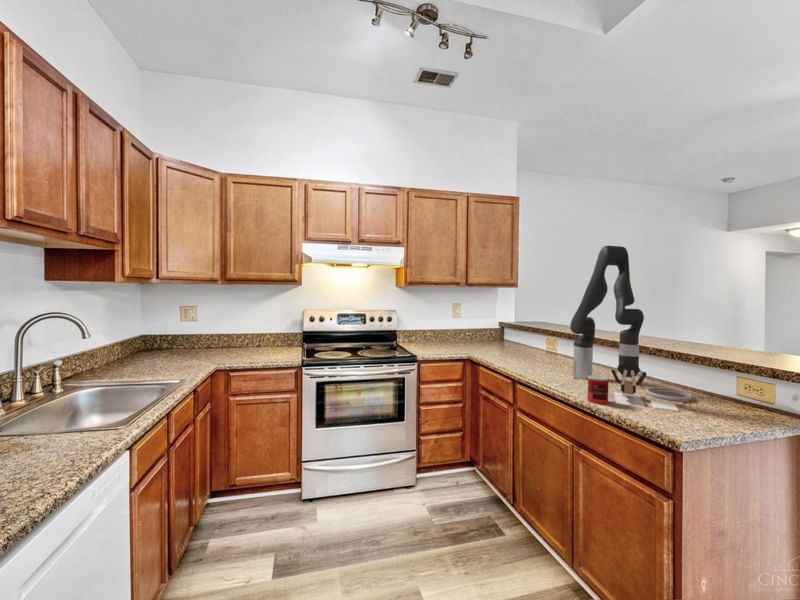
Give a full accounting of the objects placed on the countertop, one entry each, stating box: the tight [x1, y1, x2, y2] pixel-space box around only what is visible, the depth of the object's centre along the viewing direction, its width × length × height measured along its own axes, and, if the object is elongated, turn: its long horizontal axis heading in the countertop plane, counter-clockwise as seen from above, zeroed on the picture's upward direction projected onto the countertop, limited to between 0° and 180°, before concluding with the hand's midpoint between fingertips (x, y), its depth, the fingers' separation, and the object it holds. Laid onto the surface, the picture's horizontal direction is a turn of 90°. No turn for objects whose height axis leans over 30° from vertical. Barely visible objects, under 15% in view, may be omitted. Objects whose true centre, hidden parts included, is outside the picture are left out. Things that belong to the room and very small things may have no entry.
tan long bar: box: [620, 382, 639, 398], centre depth 158 cm, size 15×6×5 cm, turn 153°
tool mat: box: [613, 391, 646, 408], centre depth 158 cm, size 10×19×1 cm, turn 153°
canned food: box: [587, 374, 609, 405], centre depth 155 cm, size 8×8×11 cm
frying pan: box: [638, 384, 694, 403], centre depth 169 cm, size 17×3×28 cm
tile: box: [649, 399, 680, 413], centre depth 149 cm, size 8×2×11 cm
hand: (628, 393), depth 160 cm, fingers closed on tan long bar, 2 cm apart
